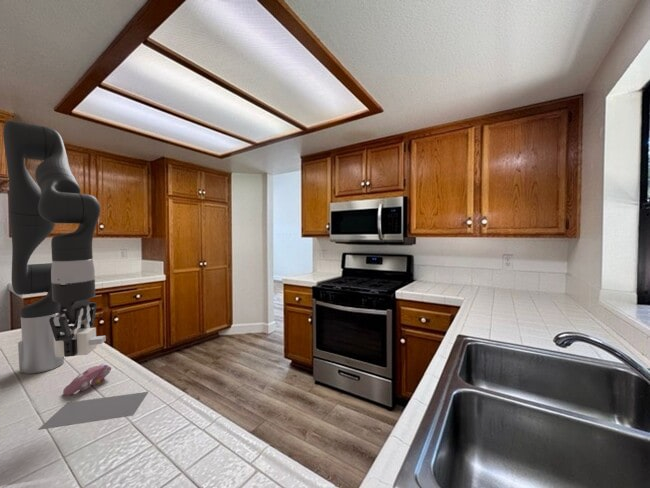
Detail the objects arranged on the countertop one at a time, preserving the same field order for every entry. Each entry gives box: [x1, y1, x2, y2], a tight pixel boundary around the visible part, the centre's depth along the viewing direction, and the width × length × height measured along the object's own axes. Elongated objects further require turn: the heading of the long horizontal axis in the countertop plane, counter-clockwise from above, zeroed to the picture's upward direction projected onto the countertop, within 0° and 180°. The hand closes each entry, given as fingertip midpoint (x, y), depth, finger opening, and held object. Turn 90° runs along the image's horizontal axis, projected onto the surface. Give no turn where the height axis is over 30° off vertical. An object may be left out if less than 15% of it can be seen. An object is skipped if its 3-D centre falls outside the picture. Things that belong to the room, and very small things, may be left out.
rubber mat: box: [38, 391, 149, 431], centre depth 67 cm, size 18×10×1 cm, turn 105°
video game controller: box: [63, 363, 112, 396], centre depth 78 cm, size 10×5×7 cm, turn 169°
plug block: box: [54, 327, 107, 358], centre depth 66 cm, size 9×4×5 cm, turn 105°
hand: (76, 351), depth 66 cm, fingers closed on plug block, 4 cm apart
